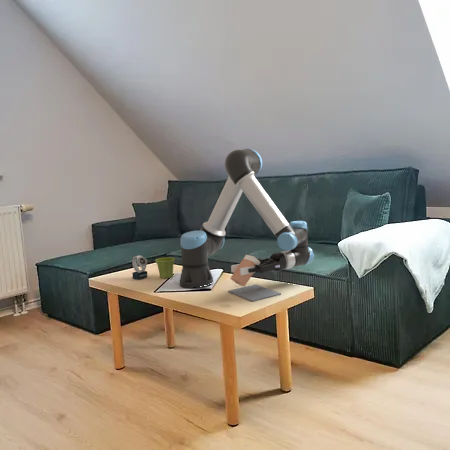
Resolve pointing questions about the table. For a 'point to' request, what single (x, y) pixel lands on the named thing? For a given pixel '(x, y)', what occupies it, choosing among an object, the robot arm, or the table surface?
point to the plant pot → (165, 267)
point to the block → (245, 262)
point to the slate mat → (254, 292)
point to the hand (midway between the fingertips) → (236, 270)
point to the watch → (139, 273)
